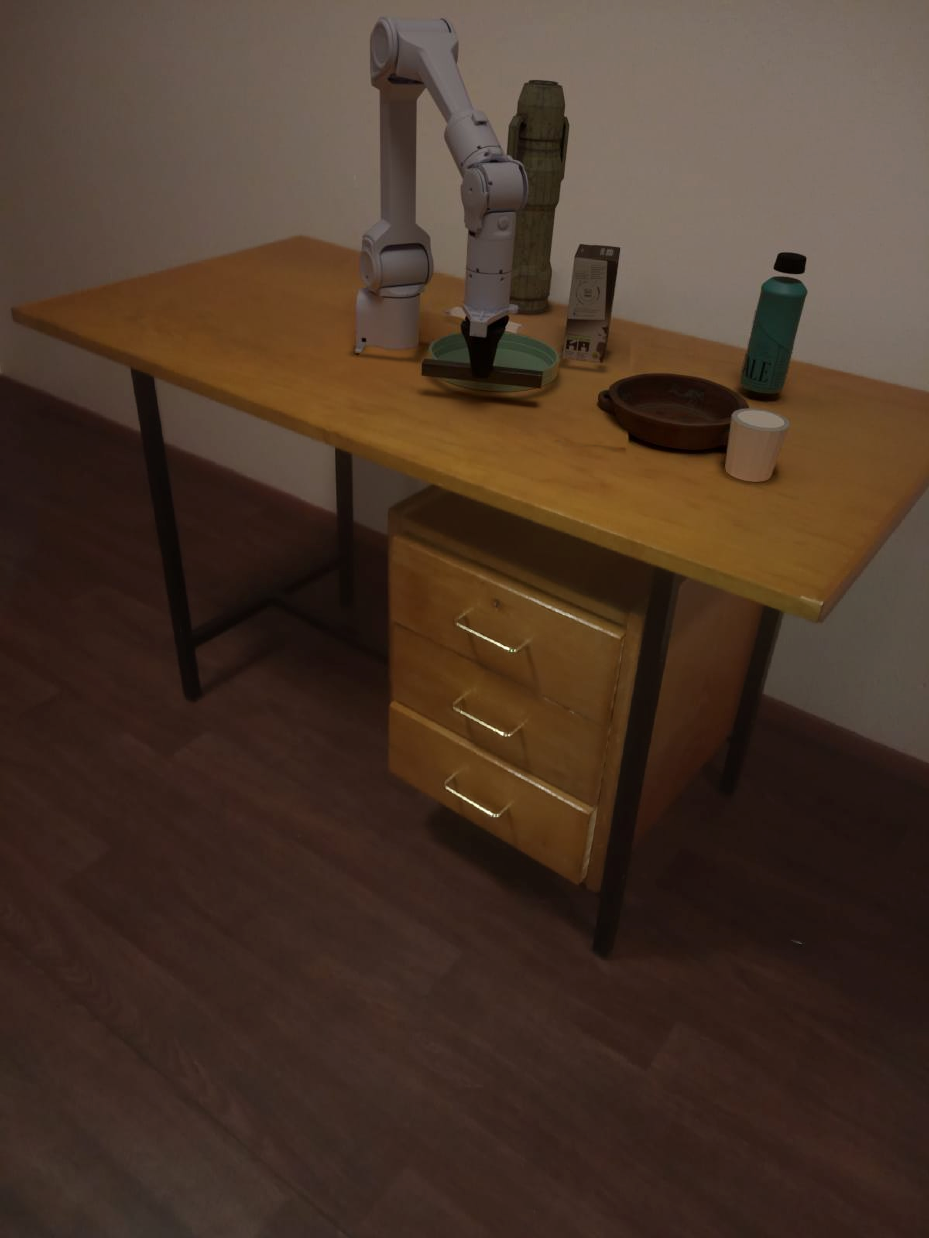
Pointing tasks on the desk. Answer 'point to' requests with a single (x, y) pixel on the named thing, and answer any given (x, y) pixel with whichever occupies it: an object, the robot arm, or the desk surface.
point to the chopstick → (496, 376)
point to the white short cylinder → (755, 443)
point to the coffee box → (591, 302)
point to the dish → (673, 409)
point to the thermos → (537, 189)
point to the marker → (460, 313)
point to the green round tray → (500, 358)
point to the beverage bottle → (775, 327)
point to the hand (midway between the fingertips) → (481, 374)
